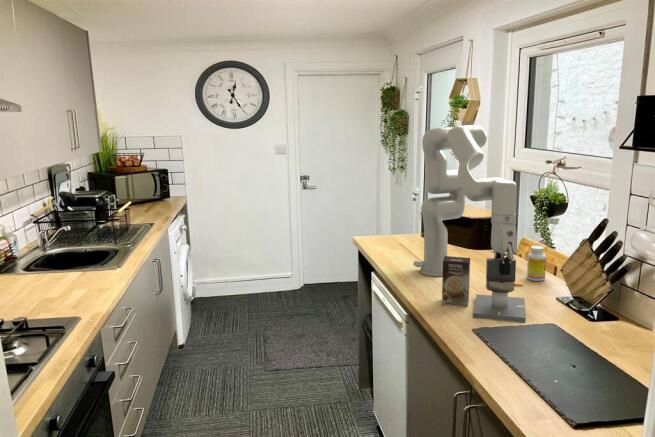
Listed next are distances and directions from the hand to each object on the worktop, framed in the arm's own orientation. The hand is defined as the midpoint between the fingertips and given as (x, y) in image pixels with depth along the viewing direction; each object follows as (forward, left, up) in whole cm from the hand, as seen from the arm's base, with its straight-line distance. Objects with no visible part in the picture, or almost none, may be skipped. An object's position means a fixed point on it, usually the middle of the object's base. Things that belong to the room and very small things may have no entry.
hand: (502, 272), depth 171 cm
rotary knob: (+1, 0, -6) cm, 6 cm away
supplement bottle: (+13, +36, -13) cm, 40 cm away
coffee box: (-15, +3, -13) cm, 20 cm away
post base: (0, 0, -13) cm, 13 cm away
